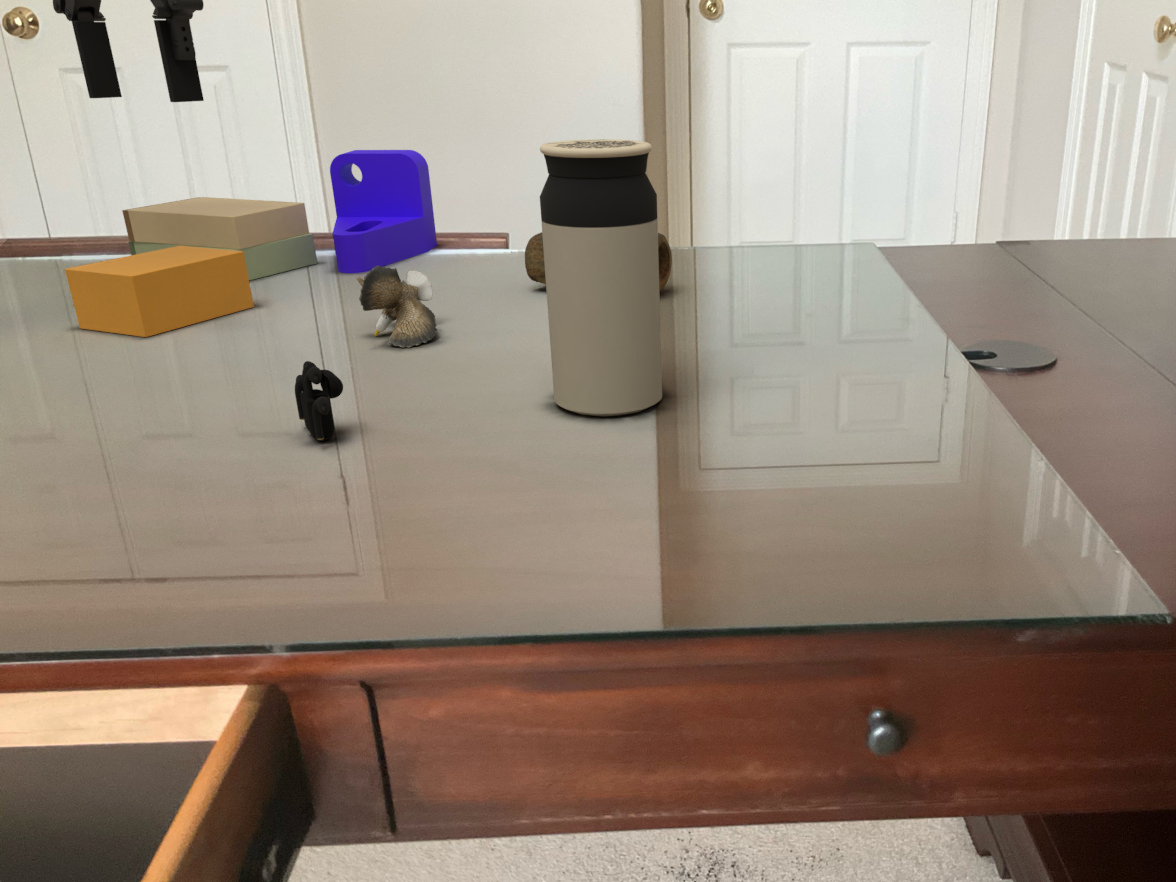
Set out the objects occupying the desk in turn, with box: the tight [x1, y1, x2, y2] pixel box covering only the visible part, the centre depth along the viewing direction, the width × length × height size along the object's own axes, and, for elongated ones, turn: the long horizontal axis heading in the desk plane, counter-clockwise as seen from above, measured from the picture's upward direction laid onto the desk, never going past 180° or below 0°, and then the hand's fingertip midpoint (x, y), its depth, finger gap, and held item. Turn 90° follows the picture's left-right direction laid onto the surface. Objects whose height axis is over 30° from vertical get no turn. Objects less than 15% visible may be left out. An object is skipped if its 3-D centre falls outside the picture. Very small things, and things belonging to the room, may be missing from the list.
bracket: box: [329, 149, 438, 274], centre depth 130 cm, size 18×11×12 cm, turn 179°
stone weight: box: [524, 231, 673, 292], centre depth 113 cm, size 15×7×7 cm, turn 76°
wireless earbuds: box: [294, 360, 344, 442], centre depth 72 cm, size 7×2×5 cm, turn 32°
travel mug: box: [539, 138, 663, 417], centre depth 76 cm, size 8×8×18 cm
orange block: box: [64, 246, 255, 338], centre depth 103 cm, size 13×8×6 cm, turn 157°
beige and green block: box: [122, 196, 318, 281], centre depth 125 cm, size 16×12×7 cm
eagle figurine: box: [355, 266, 438, 349], centre depth 97 cm, size 8×7×9 cm
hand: (145, 100), depth 99 cm, fingers open, 13 cm apart
